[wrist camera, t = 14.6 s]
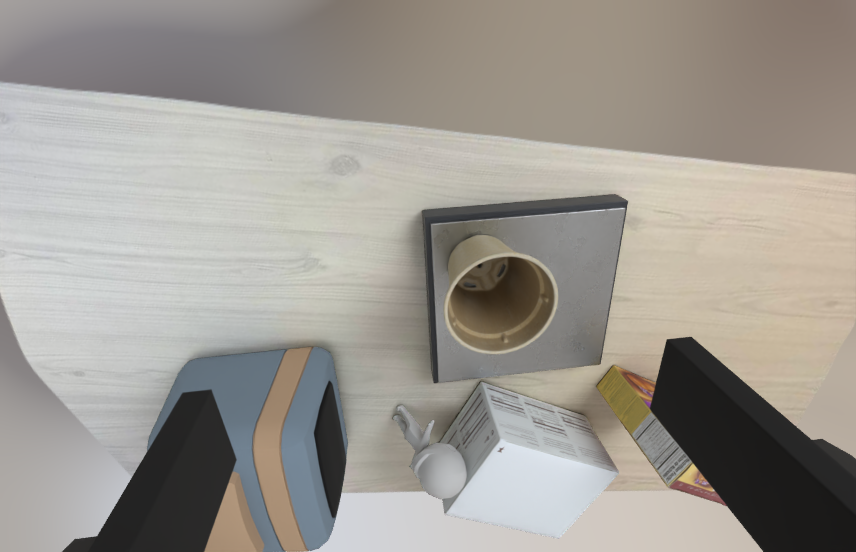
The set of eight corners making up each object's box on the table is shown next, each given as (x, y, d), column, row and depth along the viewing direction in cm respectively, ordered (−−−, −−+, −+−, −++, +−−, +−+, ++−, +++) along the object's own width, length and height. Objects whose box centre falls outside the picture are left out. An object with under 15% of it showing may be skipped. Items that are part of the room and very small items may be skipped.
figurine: (393, 389, 50) (449, 473, 42) (429, 383, 53) (488, 460, 45) (375, 438, 53) (424, 525, 45) (409, 429, 56) (461, 508, 48)
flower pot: (427, 222, 39) (440, 260, 32) (526, 211, 40) (562, 246, 32) (434, 309, 43) (447, 361, 36) (523, 298, 44) (554, 347, 36)
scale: (422, 209, 42) (425, 219, 39) (616, 194, 43) (631, 202, 41) (431, 370, 51) (434, 386, 48) (591, 352, 52) (603, 367, 50)
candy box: (664, 382, 56) (758, 483, 42) (644, 405, 57) (727, 510, 44) (614, 361, 53) (696, 462, 40) (594, 386, 55) (666, 491, 41)
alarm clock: (351, 441, 54) (342, 573, 40) (220, 457, 53) (164, 599, 39) (332, 336, 47) (314, 453, 33) (180, 352, 46) (93, 479, 32)
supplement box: (432, 450, 57) (442, 516, 48) (480, 378, 52) (500, 438, 44) (534, 478, 62) (559, 542, 53) (586, 414, 57) (622, 474, 49)
